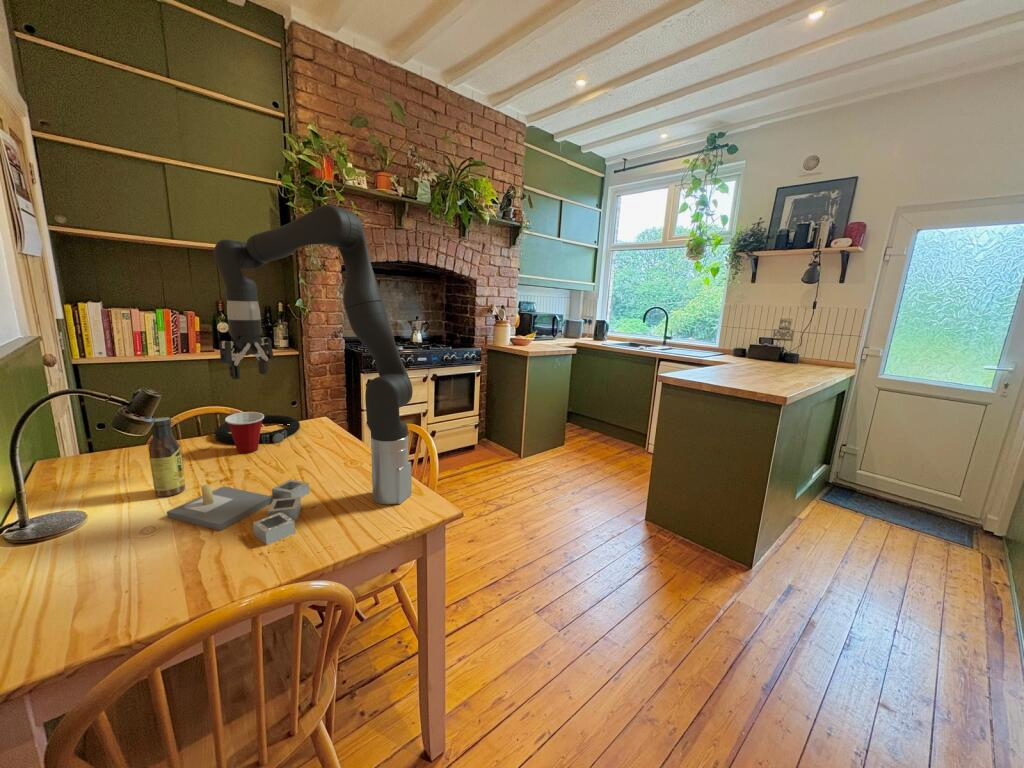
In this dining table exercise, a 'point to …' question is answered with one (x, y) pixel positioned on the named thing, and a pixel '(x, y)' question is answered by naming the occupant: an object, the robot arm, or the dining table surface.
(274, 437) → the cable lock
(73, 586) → the dining table surface
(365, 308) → the robot arm
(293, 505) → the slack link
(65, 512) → the dining table surface
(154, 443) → the sauce bottle
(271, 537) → the slack link
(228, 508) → the keeper board
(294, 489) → the grey square ring
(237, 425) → the plastic cup
